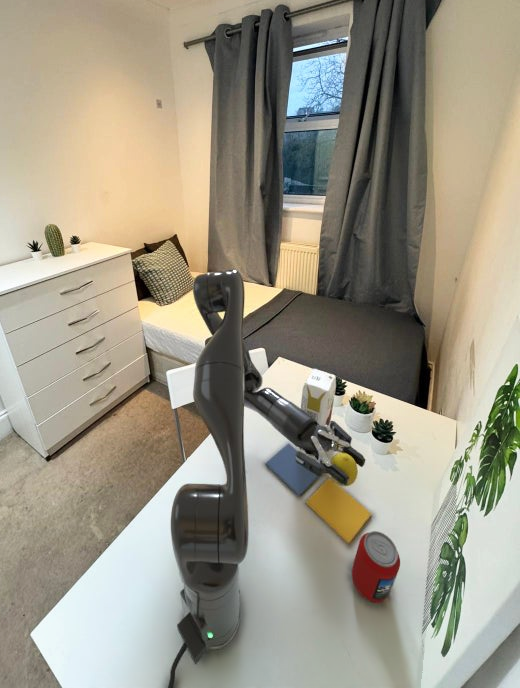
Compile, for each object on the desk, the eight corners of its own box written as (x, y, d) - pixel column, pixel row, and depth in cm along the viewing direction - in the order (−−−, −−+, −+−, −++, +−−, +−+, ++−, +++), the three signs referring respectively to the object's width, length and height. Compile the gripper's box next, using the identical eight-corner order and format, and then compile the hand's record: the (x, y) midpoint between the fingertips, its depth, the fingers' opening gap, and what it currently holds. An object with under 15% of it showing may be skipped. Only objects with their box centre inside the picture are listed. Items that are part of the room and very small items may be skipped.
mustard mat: (348, 544, 69) (349, 542, 68) (306, 503, 76) (306, 501, 76) (370, 515, 74) (371, 513, 73) (328, 479, 81) (329, 477, 81)
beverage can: (386, 614, 59) (400, 580, 53) (347, 589, 62) (356, 555, 57) (391, 574, 64) (404, 540, 59) (354, 554, 67) (364, 519, 62)
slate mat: (299, 496, 78) (299, 495, 78) (265, 464, 86) (265, 462, 85) (321, 473, 83) (322, 471, 83) (288, 444, 91) (288, 443, 90)
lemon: (356, 496, 68) (362, 471, 65) (328, 491, 69) (333, 467, 66) (352, 471, 73) (357, 447, 70) (326, 467, 74) (330, 443, 71)
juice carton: (296, 435, 93) (301, 383, 85) (305, 414, 100) (311, 365, 92) (322, 446, 90) (330, 394, 82) (330, 424, 96) (339, 374, 88)
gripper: (271, 426, 73) (338, 483, 61) (311, 395, 81) (377, 440, 69) (269, 449, 76) (333, 507, 64) (308, 416, 84) (371, 463, 72)
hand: (355, 472), depth 67 cm, fingers closed on lemon, 5 cm apart
